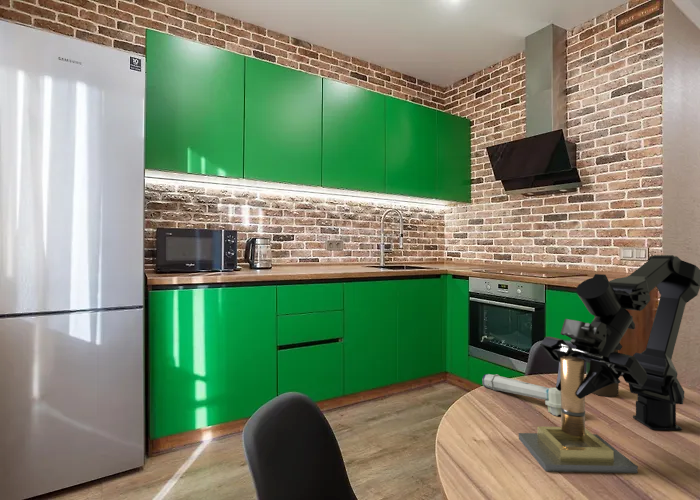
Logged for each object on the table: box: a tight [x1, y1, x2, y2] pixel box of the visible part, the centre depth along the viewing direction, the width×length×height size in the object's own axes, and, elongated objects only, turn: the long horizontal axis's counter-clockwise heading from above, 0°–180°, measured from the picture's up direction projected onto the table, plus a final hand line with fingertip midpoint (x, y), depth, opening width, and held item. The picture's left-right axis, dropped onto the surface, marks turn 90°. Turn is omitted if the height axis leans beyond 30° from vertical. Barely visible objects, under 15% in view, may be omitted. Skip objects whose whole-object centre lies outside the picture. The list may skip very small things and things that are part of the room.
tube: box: [560, 356, 586, 436], centre depth 74 cm, size 4×4×14 cm
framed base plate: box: [518, 426, 639, 474], centre depth 74 cm, size 16×12×3 cm
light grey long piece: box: [481, 373, 561, 417], centre depth 101 cm, size 5×7×25 cm
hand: (567, 393), depth 74 cm, fingers closed on tube, 4 cm apart
